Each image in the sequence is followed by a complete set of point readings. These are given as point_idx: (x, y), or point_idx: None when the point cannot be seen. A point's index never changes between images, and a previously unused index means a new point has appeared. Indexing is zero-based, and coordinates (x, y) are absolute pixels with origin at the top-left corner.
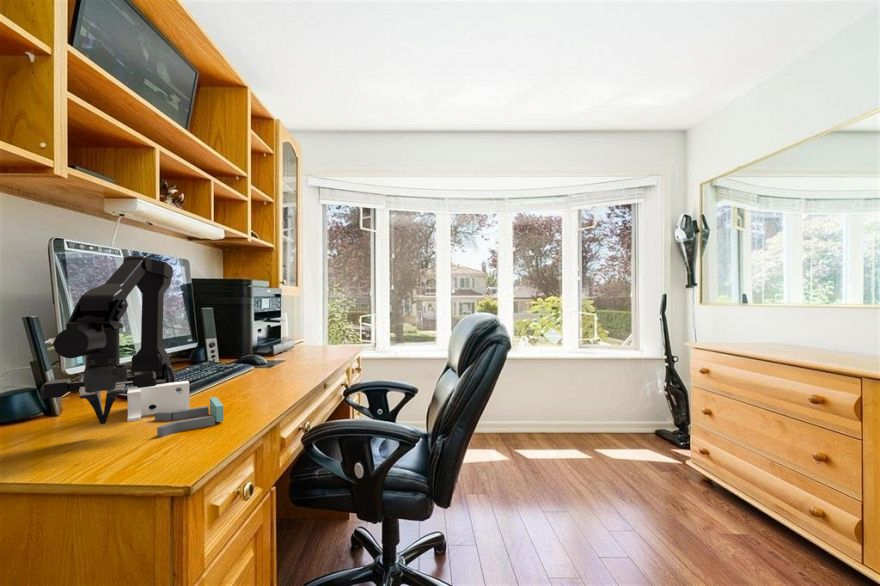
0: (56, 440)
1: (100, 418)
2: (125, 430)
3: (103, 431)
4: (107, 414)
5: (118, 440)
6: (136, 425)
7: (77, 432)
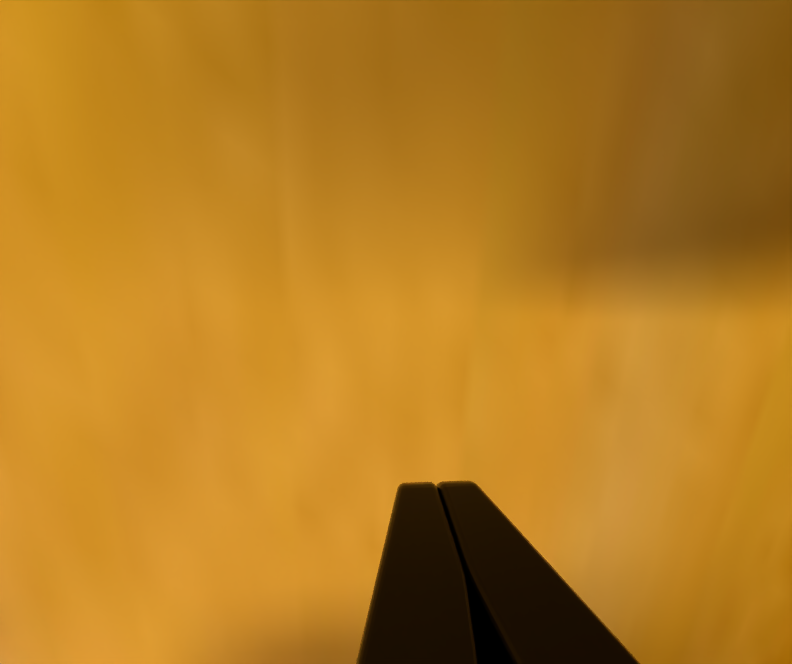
0: (784, 515)
1: (508, 558)
2: (147, 497)
3: None
4: (390, 623)
5: (177, 18)
6: (47, 617)
7: None
